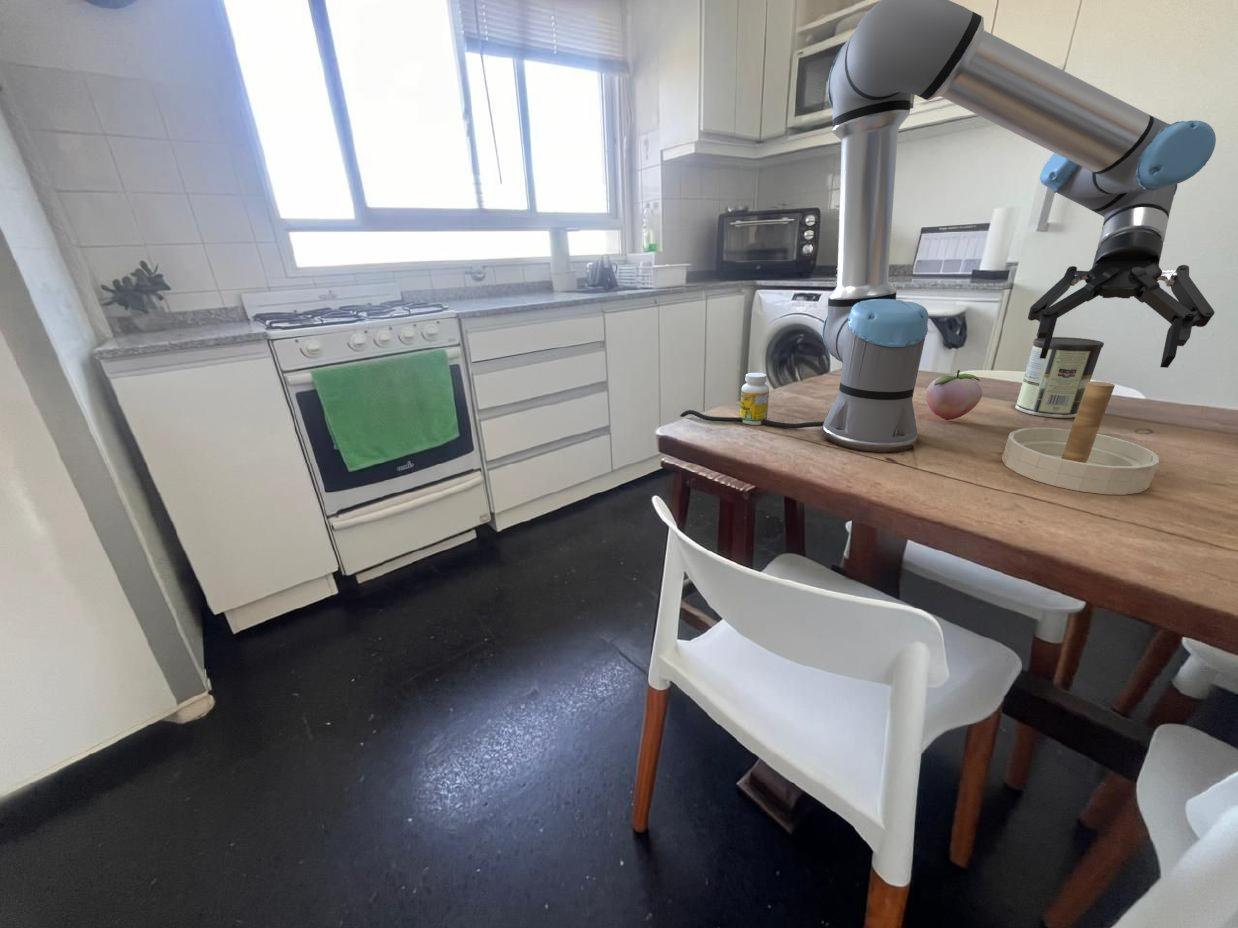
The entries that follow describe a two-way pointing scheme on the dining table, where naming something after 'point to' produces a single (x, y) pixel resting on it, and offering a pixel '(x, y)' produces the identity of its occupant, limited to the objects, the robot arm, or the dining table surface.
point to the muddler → (1087, 421)
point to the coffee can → (1058, 376)
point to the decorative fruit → (953, 395)
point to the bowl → (1107, 472)
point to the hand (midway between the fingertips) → (1102, 357)
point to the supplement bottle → (754, 399)
